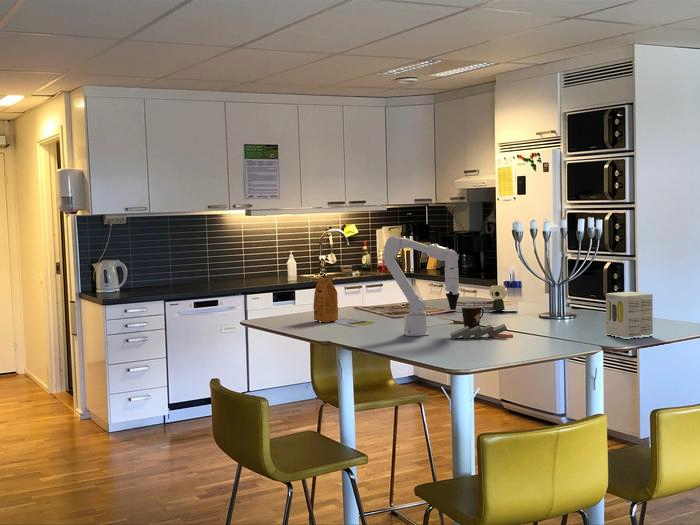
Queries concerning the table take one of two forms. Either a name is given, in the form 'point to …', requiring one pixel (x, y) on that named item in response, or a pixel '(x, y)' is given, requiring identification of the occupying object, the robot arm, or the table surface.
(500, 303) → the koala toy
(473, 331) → the domino
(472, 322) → the coffee mug
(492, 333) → the domino
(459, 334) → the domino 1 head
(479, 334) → the domino
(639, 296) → the supplement box
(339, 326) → the table surface
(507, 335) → the red domino
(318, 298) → the coffee package
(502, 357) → the table surface
